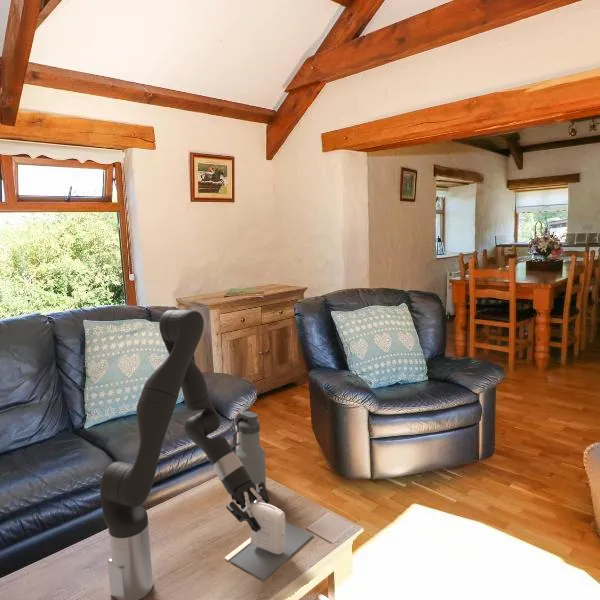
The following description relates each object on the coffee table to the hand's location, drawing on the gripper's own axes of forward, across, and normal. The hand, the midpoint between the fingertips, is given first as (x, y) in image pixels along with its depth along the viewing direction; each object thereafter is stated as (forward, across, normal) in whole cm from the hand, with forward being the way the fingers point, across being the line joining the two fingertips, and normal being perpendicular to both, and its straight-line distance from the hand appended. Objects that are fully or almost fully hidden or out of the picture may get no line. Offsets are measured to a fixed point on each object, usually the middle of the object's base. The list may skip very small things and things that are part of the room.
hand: (264, 525), depth 132 cm
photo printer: (+5, 0, +4) cm, 6 cm away
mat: (+6, +2, +5) cm, 8 cm away
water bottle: (-11, +20, +22) cm, 32 cm away
